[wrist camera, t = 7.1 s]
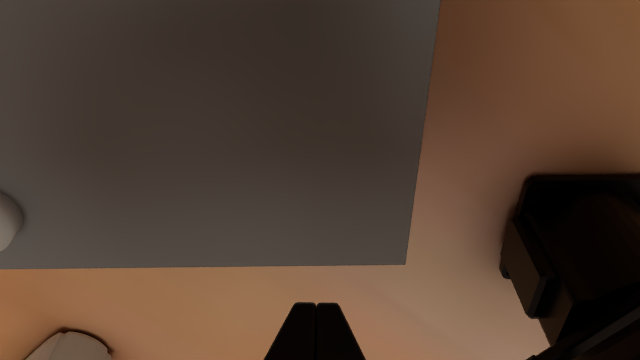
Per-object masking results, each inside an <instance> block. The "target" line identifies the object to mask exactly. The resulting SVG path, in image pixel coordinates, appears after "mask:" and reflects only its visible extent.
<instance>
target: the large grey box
mask: <svg viewBox="0 0 640 360" xmlns="http://www.w3.org/2000/svg"><path fill="white" fill-rule="evenodd" d="M440 2H441V0H0V269H69V268H157V267H246V266H335V265H405V262H406V255H407V248H408V240H409V233H410V225H411V218H412V210H413V203H414V195H415V188H416V181H417V173H418V166H419V158H420V151H421V143H422V136H423V128H424V121H425V114H426V106H427V99H428V91H429V84H430V76H431V69H432V61H433V54H434V47H435V39H436V32H437V24H438V17H439V9H440Z"/></svg>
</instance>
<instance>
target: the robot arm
mask: <svg viewBox="0 0 640 360" xmlns="http://www.w3.org/2000/svg"><path fill="white" fill-rule="evenodd" d="M536 185H539V186H538V187H537V188H534V189H533V187H535V186H536ZM501 257H502V261H501V264H500V272H501V274H502V276H503V277H504V278H506V279H511V281H512V283H513V285H514V288H515V290H516V292H517V295H518V297H519V299H520V302H521V304H522V306H523V309H524V311H525V313H526V315H527V316H528V317H529V318H531V319H538V320H539V322H540V324H541V326H542V329H543V331H544V333H545V335H546V337H547V340H548V342H549V344H550V347H549V348H547V349H546V350H544V351H543V352H541V353H539V354H538V355H536V356H535V355H532V356H531V357H529V358H528V359H526V360H640V174H639V175H543V176H532V177H530V178H528V179H527V180H526V181H525V183H524V186H523V189H522V192H521V196H520V199H519V203H518V206H517V210H516V213H515V215H514V216H513V217H512V218H511V219H510V222H509V226H508V229H507V233H506V236H505V239H504V243H503V246H502V250H501ZM264 360H366V359H365V357H364V355H363V353H362V351H361V349H360V347H359V345H358V343H357V341H356V339H355V337H354V335H353V333H352V330H351V328H350V326H349V324H348V322H347V320H346V318H345V316H344V314H343V312H342V310H341V308H340V306H339V305H338V304H337V303H318V304H317V308H316V305H315V303H312V302H297V303H295V304H294V305H293V307H292V309H291V310H290V312H289V314H288V316H287V318H286V320H285V321H284V323H283V325H282V327H281V329H280V331H279V332H278V334H277V336H276V338H275V340H274V342H273V343H272V345H271V347H270V349H269V351H268V353H267V355H266V356H265V358H264Z"/></svg>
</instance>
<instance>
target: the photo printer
mask: <svg viewBox="0 0 640 360" xmlns="http://www.w3.org/2000/svg"><path fill="white" fill-rule="evenodd" d="M111 358H112V357H111V355H110V354H108V353H107V348H106V347H105V346H104V345H103V344H102V343H101V342H100V341H98V340H96V339H95V338H93V337H90V336H88V335H85V334H82V333H77V332H67V333H65V334H64V333H57V334H56V335H54V336H52V337H51V338H49V339H48V340H46V341H45V342H44V343H43V344H42V345H41V346H39V347H38V348H37V349H36V350H35V351H34V352H33V353H32V354H31V355H30V356H29V357H28V358H27V359H25V360H111Z"/></svg>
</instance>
